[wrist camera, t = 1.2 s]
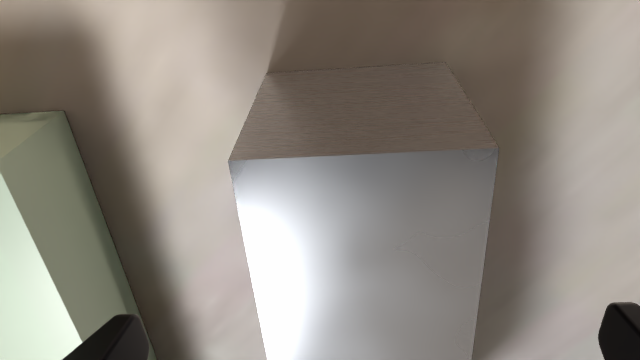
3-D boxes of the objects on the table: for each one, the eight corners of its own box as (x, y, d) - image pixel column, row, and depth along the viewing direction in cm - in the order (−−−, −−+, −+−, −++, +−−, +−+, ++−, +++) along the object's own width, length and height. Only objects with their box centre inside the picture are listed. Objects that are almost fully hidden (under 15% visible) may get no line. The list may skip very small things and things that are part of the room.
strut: (432, 400, 17) (459, 553, 13) (304, 401, 17) (292, 550, 13) (456, 61, 10) (523, 156, 7) (255, 73, 11) (207, 171, 7)
